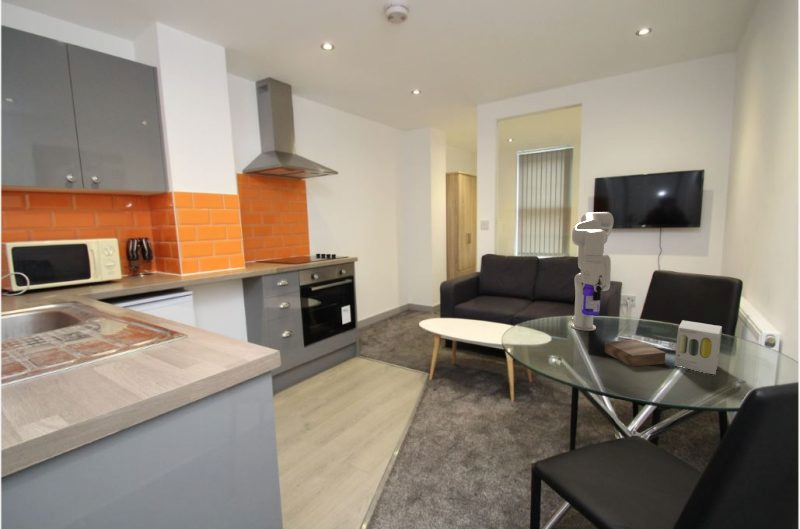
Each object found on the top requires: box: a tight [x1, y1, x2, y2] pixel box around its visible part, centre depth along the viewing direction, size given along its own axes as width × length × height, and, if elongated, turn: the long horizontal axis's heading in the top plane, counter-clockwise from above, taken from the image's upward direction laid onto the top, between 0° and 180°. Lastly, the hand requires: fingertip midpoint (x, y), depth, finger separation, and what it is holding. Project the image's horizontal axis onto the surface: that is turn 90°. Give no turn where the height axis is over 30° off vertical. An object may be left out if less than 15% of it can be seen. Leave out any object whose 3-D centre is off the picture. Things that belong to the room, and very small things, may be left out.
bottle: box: [581, 283, 602, 317], centre depth 157 cm, size 7×6×17 cm
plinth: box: [604, 339, 666, 368], centre depth 158 cm, size 16×16×5 cm
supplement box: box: [674, 319, 723, 375], centre depth 147 cm, size 13×13×18 cm
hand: (591, 298), depth 157 cm, fingers closed on bottle, 5 cm apart
